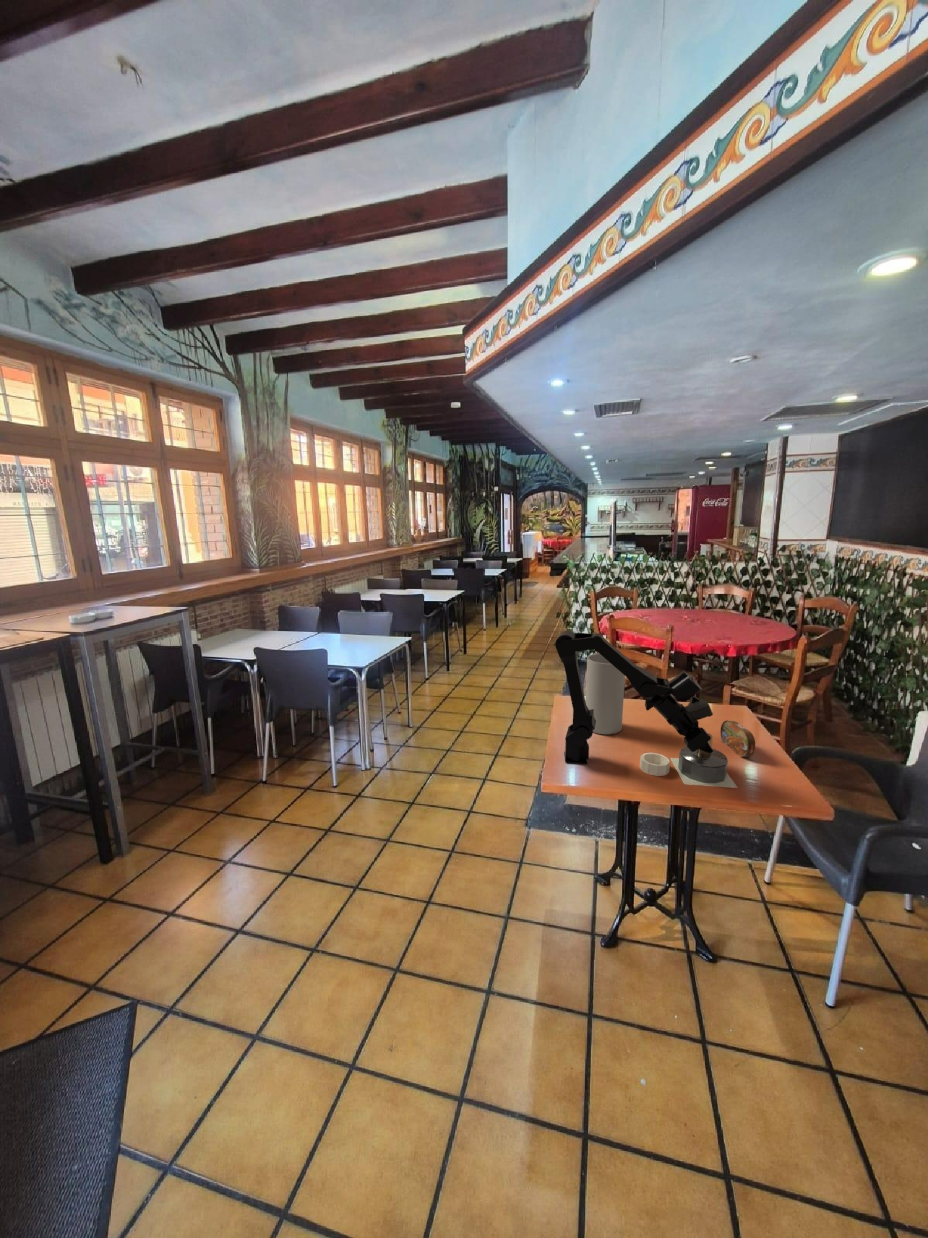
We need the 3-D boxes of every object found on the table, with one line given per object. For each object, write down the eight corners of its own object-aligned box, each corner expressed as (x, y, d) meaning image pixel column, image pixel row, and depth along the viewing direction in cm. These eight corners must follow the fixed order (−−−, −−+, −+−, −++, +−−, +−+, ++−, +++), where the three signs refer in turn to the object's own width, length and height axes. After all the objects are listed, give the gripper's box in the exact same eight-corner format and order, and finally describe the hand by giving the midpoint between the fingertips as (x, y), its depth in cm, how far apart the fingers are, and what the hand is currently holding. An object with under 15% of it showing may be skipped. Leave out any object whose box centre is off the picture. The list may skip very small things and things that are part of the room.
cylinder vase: (617, 721, 176) (621, 653, 171) (625, 736, 164) (629, 664, 159) (582, 719, 177) (585, 653, 172) (587, 734, 165) (590, 663, 160)
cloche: (685, 781, 135) (689, 743, 133) (674, 760, 147) (677, 725, 144) (732, 784, 133) (736, 746, 131) (716, 763, 145) (720, 727, 143)
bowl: (643, 776, 139) (644, 765, 138) (637, 762, 146) (638, 751, 146) (671, 778, 138) (672, 766, 137) (664, 764, 145) (665, 753, 144)
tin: (718, 740, 161) (721, 716, 159) (728, 739, 161) (730, 715, 159) (744, 762, 146) (748, 736, 144) (755, 762, 146) (758, 736, 144)
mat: (684, 785, 134) (684, 784, 134) (669, 759, 148) (670, 757, 148) (737, 789, 132) (737, 787, 132) (717, 762, 146) (717, 760, 146)
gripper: (705, 704, 127) (746, 746, 127) (684, 680, 145) (721, 718, 145) (671, 731, 129) (711, 772, 130) (655, 704, 147) (690, 741, 148)
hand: (709, 749), depth 138 cm, fingers closed on cloche, 4 cm apart
